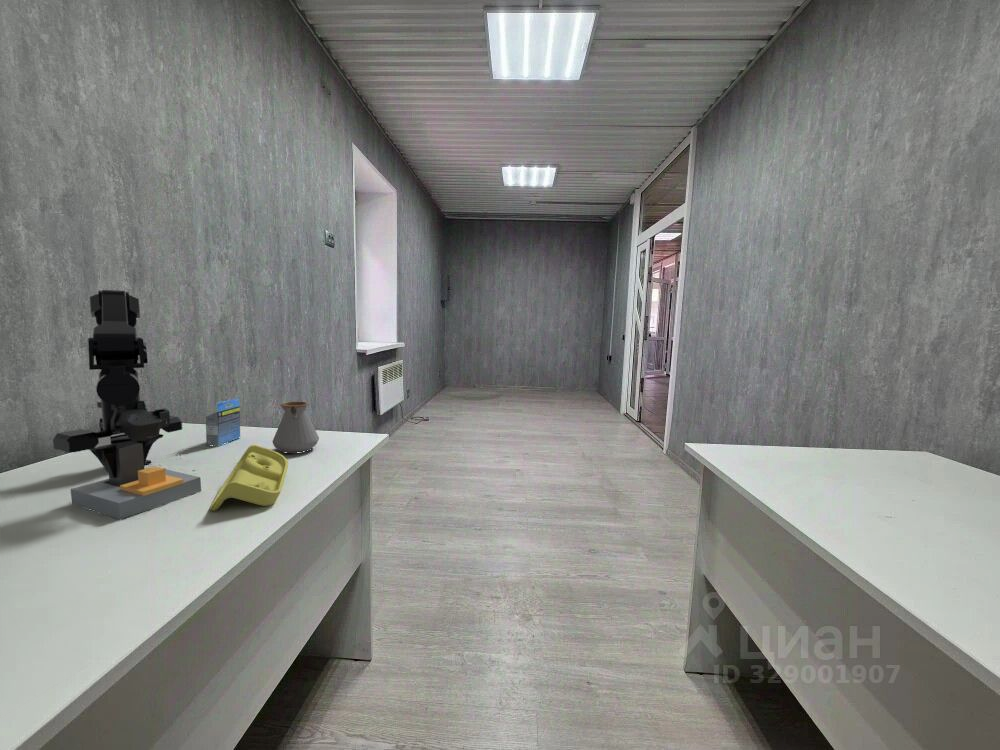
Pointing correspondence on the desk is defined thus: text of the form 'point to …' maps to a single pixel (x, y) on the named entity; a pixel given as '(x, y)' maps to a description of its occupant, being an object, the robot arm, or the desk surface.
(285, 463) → the plastic component
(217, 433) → the label tape box
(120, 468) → the grey box
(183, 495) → the socket board
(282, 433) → the coffee pot
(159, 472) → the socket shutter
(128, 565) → the desk surface
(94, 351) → the robot arm
